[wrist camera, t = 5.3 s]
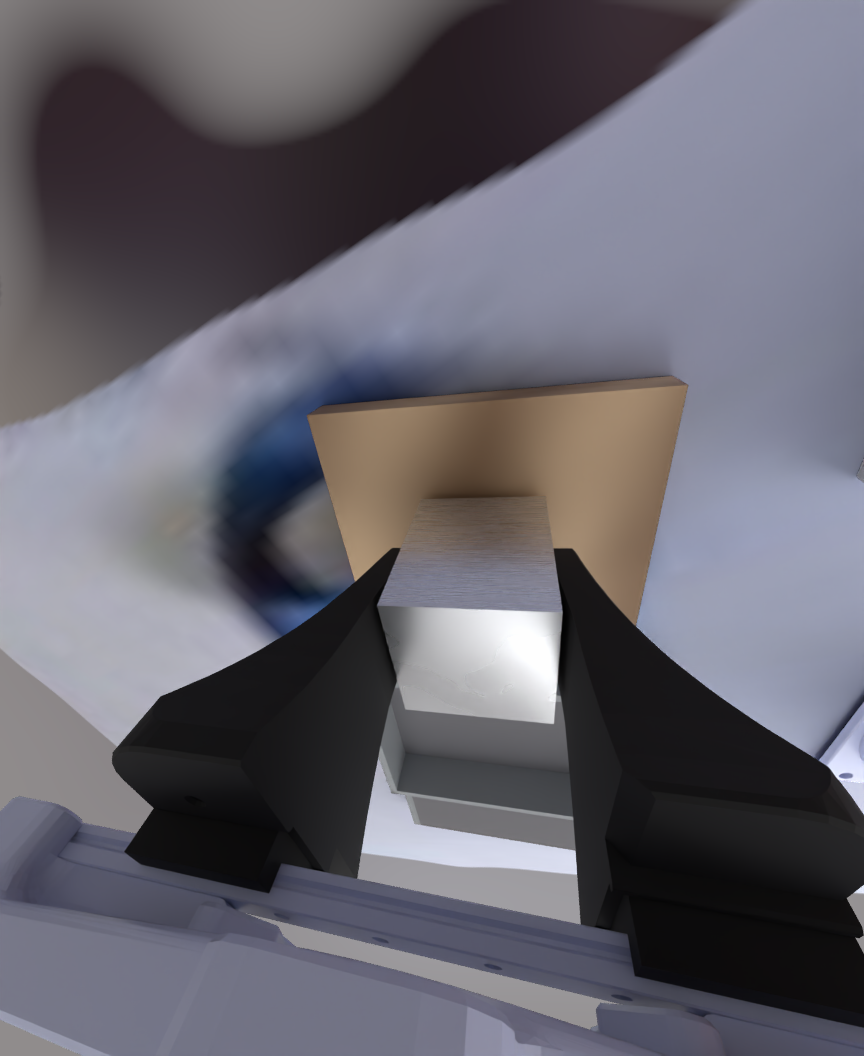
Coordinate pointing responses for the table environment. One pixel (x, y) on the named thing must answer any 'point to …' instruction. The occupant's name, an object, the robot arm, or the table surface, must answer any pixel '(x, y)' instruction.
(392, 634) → the block
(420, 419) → the brown wooden board
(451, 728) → the case
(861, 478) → the ink cartridge box
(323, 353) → the table surface
